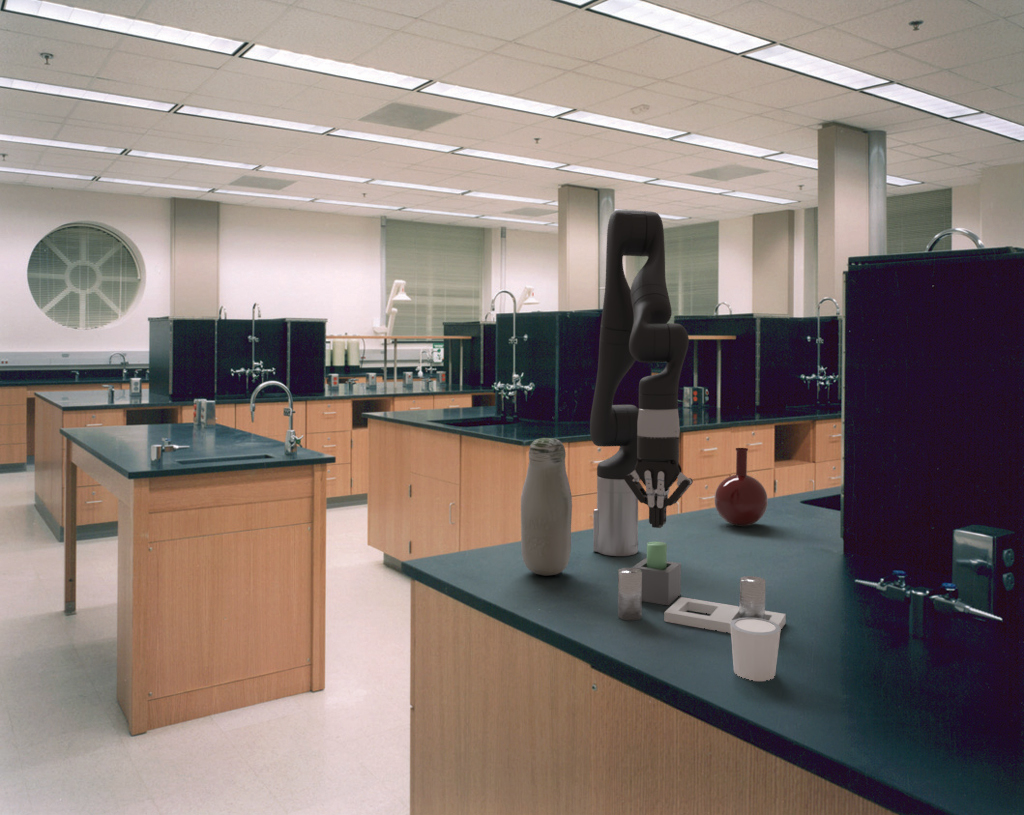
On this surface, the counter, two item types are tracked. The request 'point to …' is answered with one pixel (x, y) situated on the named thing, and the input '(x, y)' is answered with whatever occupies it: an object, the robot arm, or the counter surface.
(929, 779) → the counter surface
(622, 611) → the cylinder
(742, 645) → the white cup
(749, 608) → the seated billet
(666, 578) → the grey square holder
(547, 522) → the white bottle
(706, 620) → the grey flat frame
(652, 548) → the button
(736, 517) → the round-bottom flask
